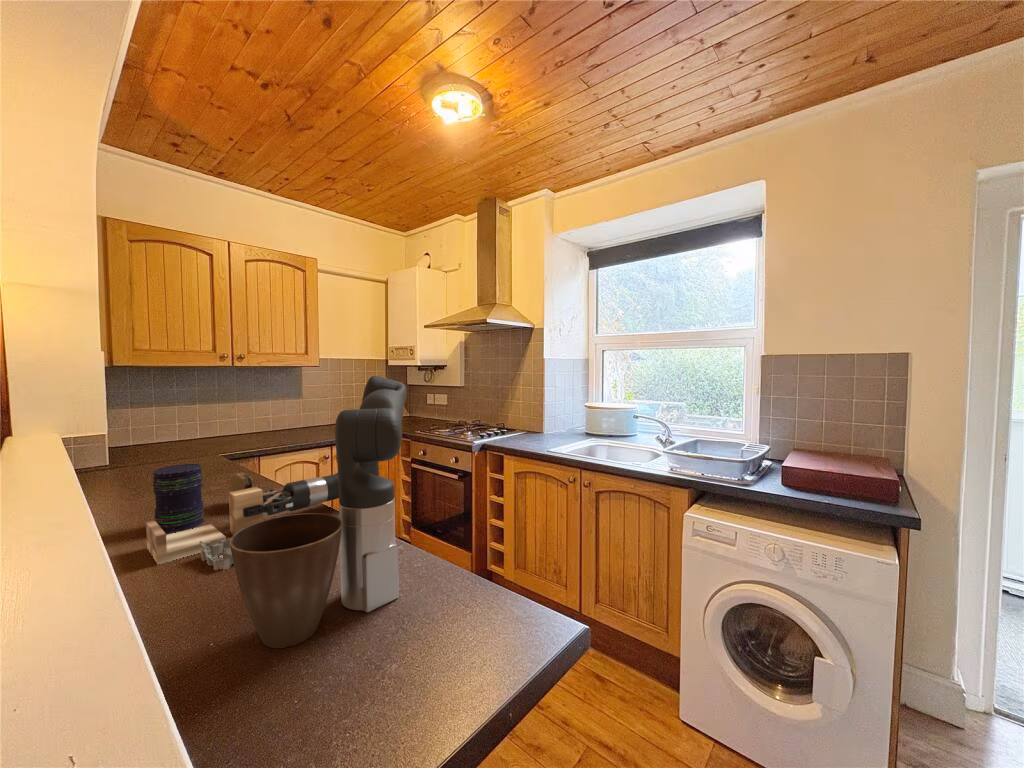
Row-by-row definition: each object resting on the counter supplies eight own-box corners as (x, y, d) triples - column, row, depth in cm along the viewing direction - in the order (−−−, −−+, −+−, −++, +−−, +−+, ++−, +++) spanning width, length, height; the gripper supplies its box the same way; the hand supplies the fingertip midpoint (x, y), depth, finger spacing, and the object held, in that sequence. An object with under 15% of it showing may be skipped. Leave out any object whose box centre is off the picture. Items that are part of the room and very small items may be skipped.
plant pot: (317, 594, 74) (315, 506, 73) (363, 627, 65) (360, 526, 64) (218, 637, 62) (214, 533, 62) (256, 684, 53) (252, 562, 52)
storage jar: (183, 533, 101) (180, 473, 101) (143, 533, 101) (141, 473, 101) (213, 518, 111) (211, 463, 111) (177, 518, 111) (175, 463, 111)
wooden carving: (269, 509, 119) (267, 474, 118) (252, 514, 115) (250, 478, 114) (240, 499, 127) (239, 467, 127) (223, 503, 123) (222, 470, 123)
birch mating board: (226, 545, 94) (225, 519, 94) (157, 565, 85) (156, 536, 85) (211, 532, 102) (210, 508, 102) (147, 548, 93) (145, 522, 93)
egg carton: (197, 559, 88) (196, 540, 88) (238, 547, 94) (237, 529, 94) (213, 574, 82) (212, 554, 82) (256, 560, 87) (255, 541, 87)
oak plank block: (263, 529, 104) (262, 490, 103) (236, 537, 99) (234, 496, 99) (257, 525, 107) (256, 486, 106) (230, 532, 102) (228, 492, 102)
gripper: (294, 475, 118) (227, 488, 106) (317, 484, 109) (247, 500, 96) (295, 501, 118) (229, 517, 106) (318, 512, 109) (248, 531, 97)
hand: (237, 509), depth 101 cm, fingers open, 8 cm apart
